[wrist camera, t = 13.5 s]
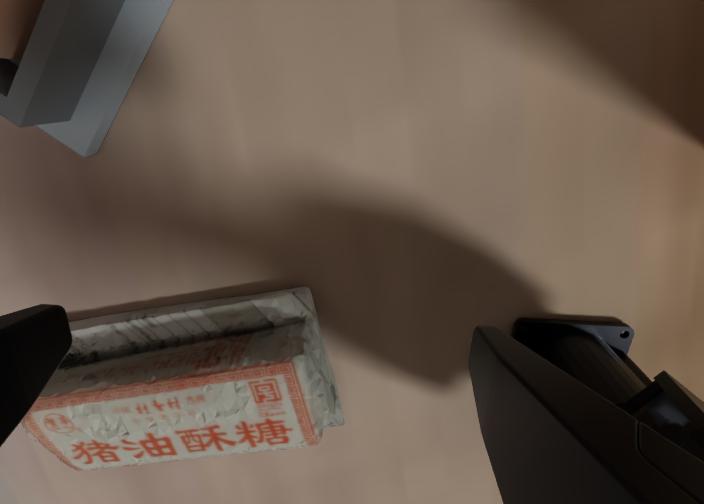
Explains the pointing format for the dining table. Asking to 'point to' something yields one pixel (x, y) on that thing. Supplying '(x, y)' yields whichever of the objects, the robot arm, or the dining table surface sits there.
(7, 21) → the terracotta block
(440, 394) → the dining table surface
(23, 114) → the box
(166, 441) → the packaged product
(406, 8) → the dining table surface
